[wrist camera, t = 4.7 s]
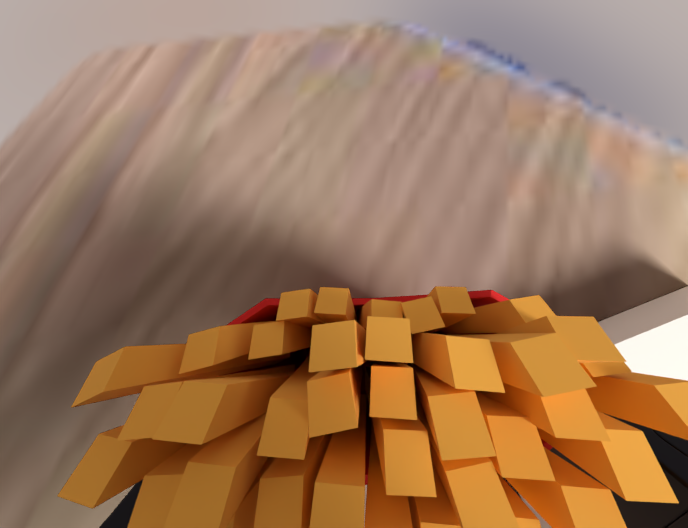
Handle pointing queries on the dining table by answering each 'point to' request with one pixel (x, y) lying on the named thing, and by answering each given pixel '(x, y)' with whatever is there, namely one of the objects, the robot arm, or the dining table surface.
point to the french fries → (381, 418)
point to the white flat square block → (650, 341)
